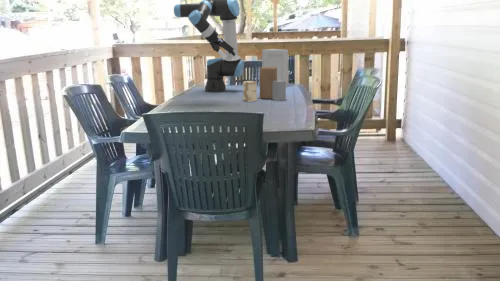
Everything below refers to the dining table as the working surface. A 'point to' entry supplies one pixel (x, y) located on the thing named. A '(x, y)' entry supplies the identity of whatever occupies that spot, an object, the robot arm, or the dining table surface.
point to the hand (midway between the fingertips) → (231, 58)
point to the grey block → (279, 90)
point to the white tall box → (276, 62)
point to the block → (267, 81)
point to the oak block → (250, 91)
